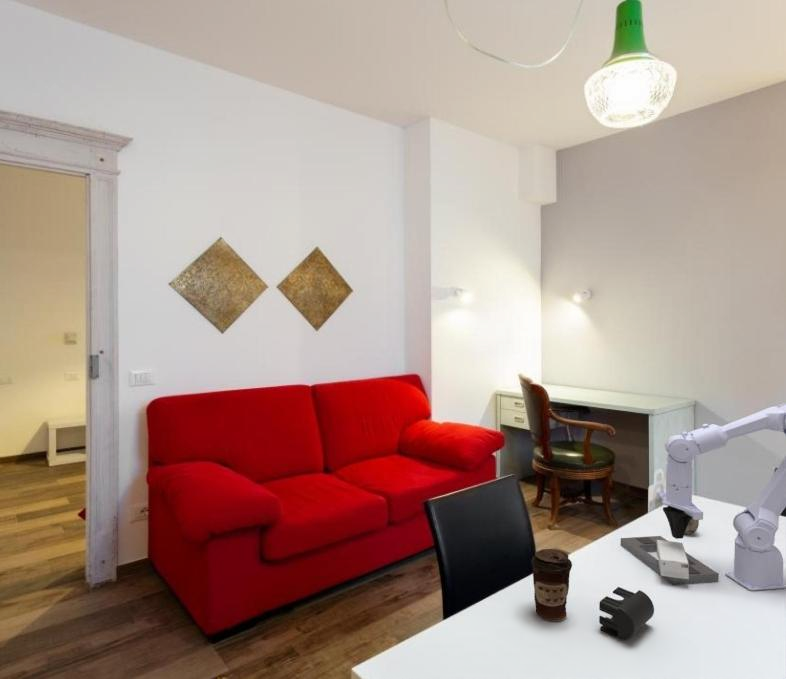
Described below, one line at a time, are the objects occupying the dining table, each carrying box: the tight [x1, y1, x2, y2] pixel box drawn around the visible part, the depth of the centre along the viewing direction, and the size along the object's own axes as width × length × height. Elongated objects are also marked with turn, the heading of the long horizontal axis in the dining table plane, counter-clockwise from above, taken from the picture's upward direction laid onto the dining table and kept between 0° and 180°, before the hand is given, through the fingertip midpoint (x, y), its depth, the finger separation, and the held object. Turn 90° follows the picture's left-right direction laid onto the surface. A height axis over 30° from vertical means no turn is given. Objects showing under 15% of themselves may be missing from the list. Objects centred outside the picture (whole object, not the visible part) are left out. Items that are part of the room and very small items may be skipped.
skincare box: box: [656, 540, 689, 579], centre depth 128 cm, size 6×4×12 cm
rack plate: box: [620, 535, 720, 586], centre depth 135 cm, size 12×22×2 cm, turn 7°
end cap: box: [598, 586, 655, 641], centre depth 105 cm, size 10×7×7 cm
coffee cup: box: [530, 548, 573, 622], centre depth 110 cm, size 9×8×13 cm
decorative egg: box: [684, 518, 700, 535], centre depth 153 cm, size 6×6×10 cm
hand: (677, 537), depth 130 cm, fingers closed
